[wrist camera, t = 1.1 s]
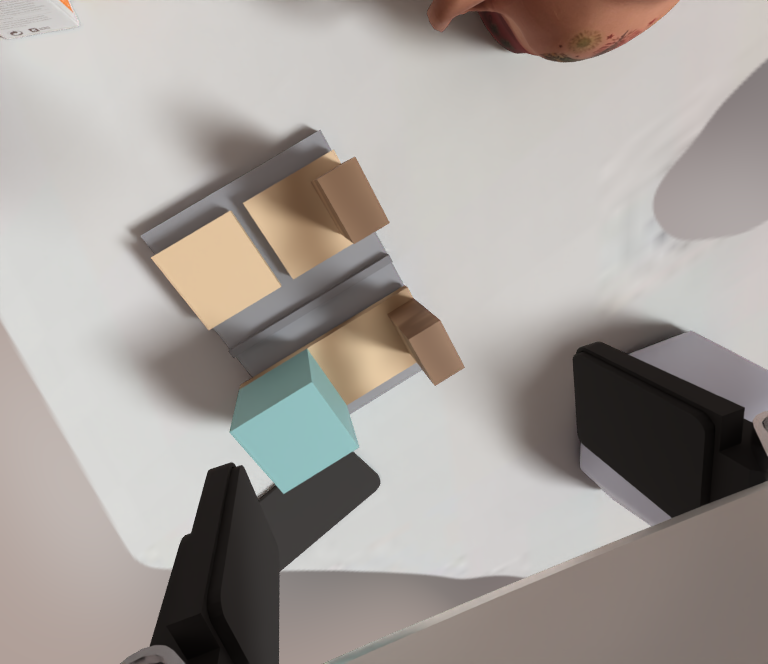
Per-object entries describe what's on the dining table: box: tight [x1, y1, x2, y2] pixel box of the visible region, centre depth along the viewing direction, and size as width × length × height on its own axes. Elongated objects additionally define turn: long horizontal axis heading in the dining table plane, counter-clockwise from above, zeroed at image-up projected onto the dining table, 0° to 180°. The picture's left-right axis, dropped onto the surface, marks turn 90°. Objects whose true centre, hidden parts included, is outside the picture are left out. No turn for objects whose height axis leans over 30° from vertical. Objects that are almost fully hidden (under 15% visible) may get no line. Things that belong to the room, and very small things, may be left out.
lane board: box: [141, 130, 422, 414], centre depth 31 cm, size 14×20×2 cm
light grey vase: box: [580, 331, 768, 526], centre depth 36 cm, size 20×20×19 cm
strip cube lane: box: [239, 285, 465, 405], centre depth 30 cm, size 15×6×7 cm, turn 119°
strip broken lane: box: [243, 150, 389, 279], centre depth 26 cm, size 7×6×7 cm
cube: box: [230, 349, 359, 494], centre depth 30 cm, size 6×6×6 cm
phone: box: [258, 451, 380, 572], centre depth 38 cm, size 7×1×15 cm
